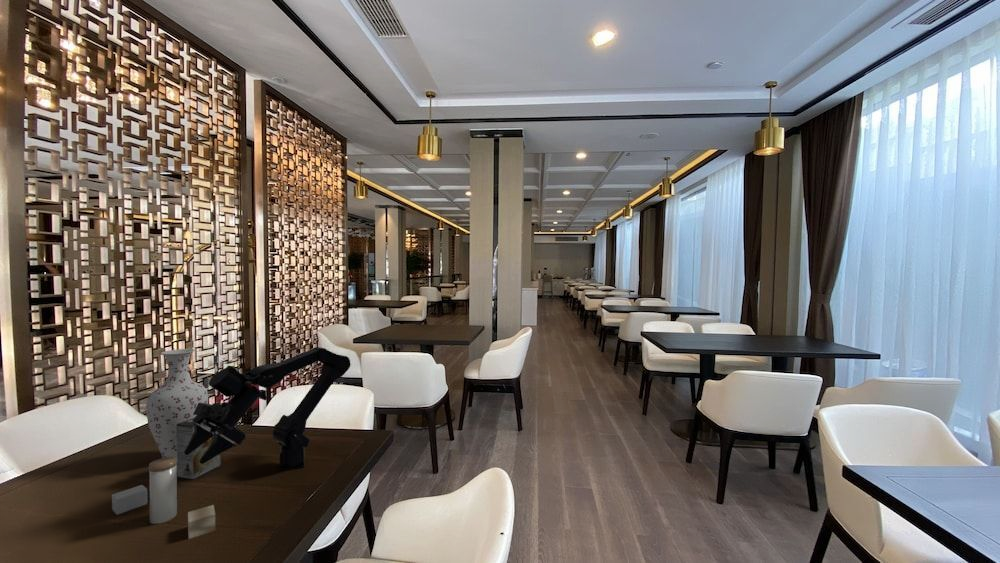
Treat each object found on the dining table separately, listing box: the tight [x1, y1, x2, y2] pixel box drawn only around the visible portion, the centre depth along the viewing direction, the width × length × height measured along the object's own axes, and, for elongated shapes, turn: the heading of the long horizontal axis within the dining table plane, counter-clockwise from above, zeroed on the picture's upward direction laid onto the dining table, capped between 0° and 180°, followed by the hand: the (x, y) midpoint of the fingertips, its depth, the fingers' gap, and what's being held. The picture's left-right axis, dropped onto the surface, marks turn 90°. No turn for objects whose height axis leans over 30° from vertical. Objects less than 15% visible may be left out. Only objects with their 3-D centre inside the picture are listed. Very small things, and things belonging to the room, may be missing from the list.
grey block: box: [111, 484, 149, 515], centre depth 105 cm, size 6×4×4 cm, turn 147°
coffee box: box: [177, 418, 222, 480], centre depth 124 cm, size 9×6×16 cm
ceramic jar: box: [148, 457, 178, 525], centre depth 100 cm, size 5×5×14 cm
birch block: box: [187, 504, 216, 540], centre depth 96 cm, size 5×5×4 cm
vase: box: [145, 348, 209, 458], centre depth 134 cm, size 16×16×35 cm
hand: (192, 458), depth 106 cm, fingers open, 9 cm apart
